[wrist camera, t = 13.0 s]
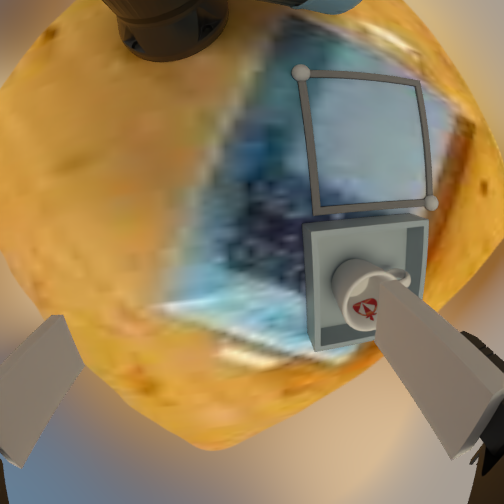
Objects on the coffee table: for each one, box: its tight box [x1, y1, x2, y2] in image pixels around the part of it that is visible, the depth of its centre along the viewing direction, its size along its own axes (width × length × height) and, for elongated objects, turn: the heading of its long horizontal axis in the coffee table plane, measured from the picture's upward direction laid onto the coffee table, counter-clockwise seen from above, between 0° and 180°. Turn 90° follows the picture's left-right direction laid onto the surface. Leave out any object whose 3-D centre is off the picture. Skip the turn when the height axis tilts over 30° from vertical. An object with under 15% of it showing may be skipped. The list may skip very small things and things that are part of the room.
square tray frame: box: [292, 64, 438, 216], centre depth 33 cm, size 21×21×2 cm
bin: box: [302, 213, 429, 352], centre depth 36 cm, size 17×17×5 cm
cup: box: [332, 259, 411, 331], centre depth 34 cm, size 11×8×8 cm
